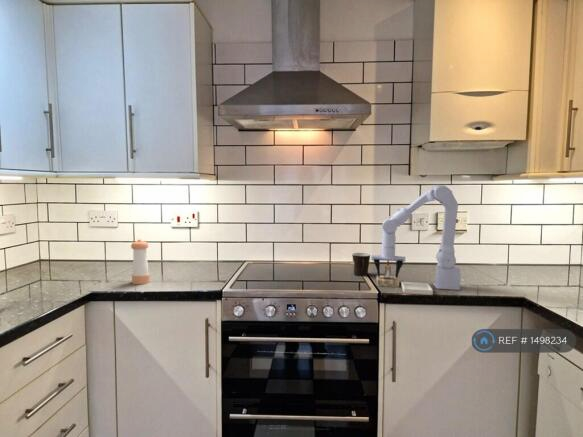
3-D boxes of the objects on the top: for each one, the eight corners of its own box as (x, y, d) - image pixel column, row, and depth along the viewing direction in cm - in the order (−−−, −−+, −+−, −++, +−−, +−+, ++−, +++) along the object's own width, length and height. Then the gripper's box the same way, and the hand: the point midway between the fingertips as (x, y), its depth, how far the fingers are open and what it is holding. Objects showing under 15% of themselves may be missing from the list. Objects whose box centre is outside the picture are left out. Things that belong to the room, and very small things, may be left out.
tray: (427, 287, 159) (427, 283, 159) (432, 295, 148) (432, 290, 148) (400, 286, 161) (401, 281, 161) (404, 293, 150) (404, 288, 150)
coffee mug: (355, 271, 187) (355, 252, 186) (371, 273, 183) (372, 253, 182) (347, 276, 177) (347, 256, 176) (365, 278, 173) (365, 257, 172)
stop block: (396, 281, 169) (396, 276, 168) (398, 287, 160) (399, 281, 160) (376, 280, 170) (376, 275, 170) (377, 285, 161) (377, 280, 161)
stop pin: (389, 283, 166) (390, 265, 165) (390, 284, 164) (391, 266, 163) (384, 282, 166) (385, 265, 166) (384, 284, 164) (385, 266, 163)
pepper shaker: (130, 284, 160) (129, 241, 158) (133, 280, 167) (131, 238, 165) (148, 283, 162) (147, 240, 160) (150, 279, 169) (149, 238, 167)
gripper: (404, 245, 166) (403, 275, 167) (371, 244, 169) (370, 273, 170) (406, 248, 159) (405, 279, 160) (372, 247, 162) (371, 277, 163)
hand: (387, 276), depth 165 cm, fingers open, 7 cm apart
